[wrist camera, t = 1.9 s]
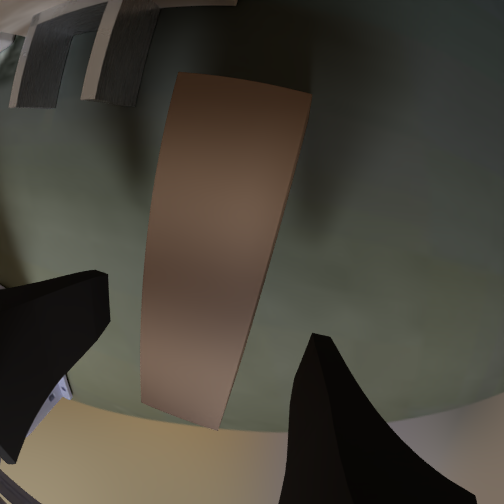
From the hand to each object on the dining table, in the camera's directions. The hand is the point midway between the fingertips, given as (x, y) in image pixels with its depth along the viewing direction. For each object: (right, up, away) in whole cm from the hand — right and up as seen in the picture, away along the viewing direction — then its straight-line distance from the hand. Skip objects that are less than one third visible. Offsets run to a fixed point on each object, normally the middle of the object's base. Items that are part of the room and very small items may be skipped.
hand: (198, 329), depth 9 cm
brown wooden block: (+1, +3, +4) cm, 5 cm away
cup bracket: (-6, +12, +1) cm, 14 cm away
